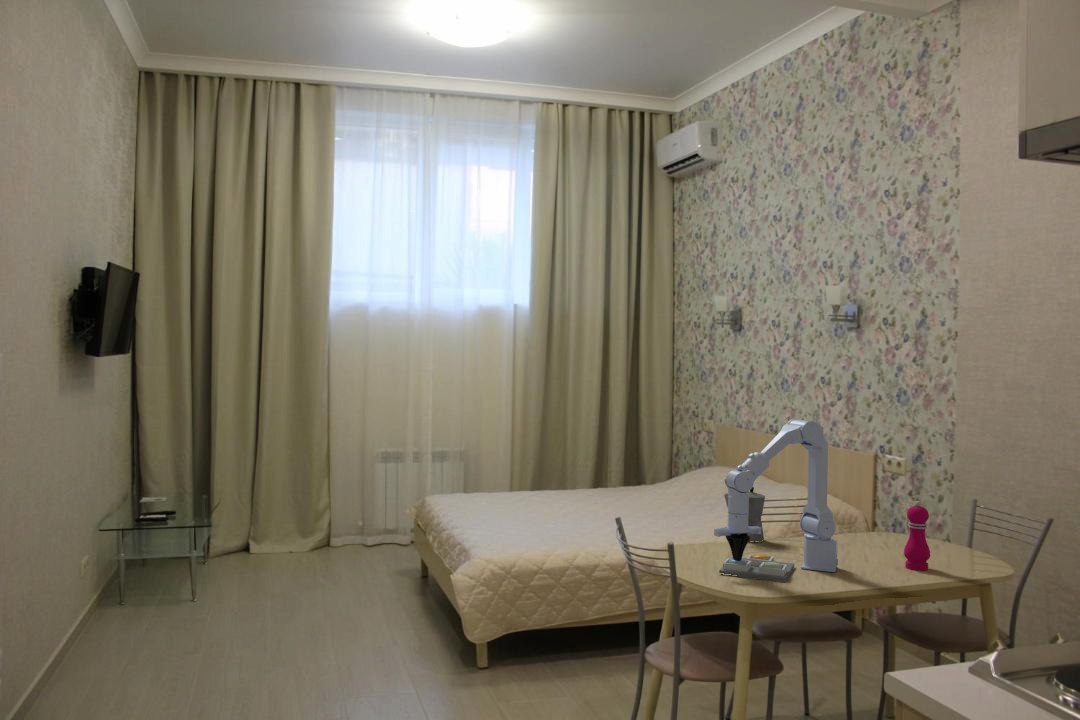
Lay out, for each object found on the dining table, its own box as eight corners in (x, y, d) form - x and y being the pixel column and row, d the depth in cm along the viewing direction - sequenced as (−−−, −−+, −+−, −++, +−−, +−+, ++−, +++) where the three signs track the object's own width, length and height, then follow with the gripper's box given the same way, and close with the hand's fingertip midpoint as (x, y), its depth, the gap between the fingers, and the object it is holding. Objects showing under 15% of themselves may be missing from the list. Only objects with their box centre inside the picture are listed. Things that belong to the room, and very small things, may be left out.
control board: (794, 567, 256) (794, 557, 256) (784, 582, 239) (785, 571, 239) (732, 560, 263) (732, 550, 263) (719, 574, 246) (719, 563, 246)
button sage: (782, 569, 246) (782, 563, 246) (780, 572, 242) (780, 566, 242) (765, 567, 248) (766, 561, 248) (763, 570, 244) (763, 564, 244)
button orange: (769, 560, 256) (769, 555, 256) (767, 564, 252) (767, 558, 252) (753, 559, 258) (753, 553, 258) (750, 562, 254) (751, 556, 254)
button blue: (746, 565, 250) (746, 559, 250) (743, 568, 246) (743, 562, 246) (730, 563, 252) (730, 557, 252) (727, 566, 248) (727, 560, 248)
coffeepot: (747, 535, 303) (748, 483, 303) (772, 539, 296) (773, 486, 296) (724, 541, 291) (725, 487, 291) (750, 545, 285) (751, 490, 285)
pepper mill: (935, 569, 257) (936, 502, 257) (919, 572, 253) (920, 503, 253) (914, 564, 263) (915, 498, 263) (898, 566, 260) (899, 499, 260)
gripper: (751, 509, 255) (750, 555, 255) (708, 511, 250) (707, 558, 250) (765, 513, 248) (764, 561, 249) (722, 515, 243) (721, 564, 243)
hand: (737, 560), depth 249 cm, fingers closed, pressing on button blue
